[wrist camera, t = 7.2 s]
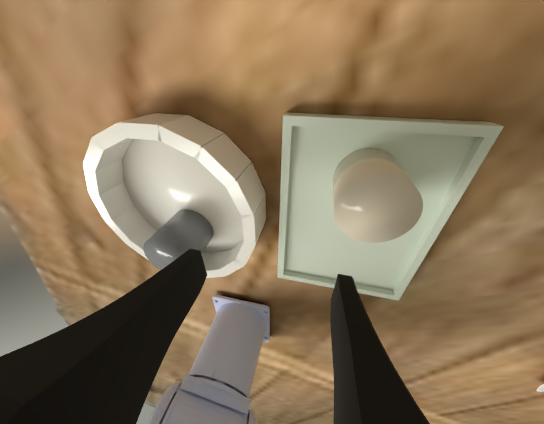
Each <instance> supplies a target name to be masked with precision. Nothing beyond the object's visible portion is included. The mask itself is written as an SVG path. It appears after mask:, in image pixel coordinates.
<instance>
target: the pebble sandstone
mask: <svg viewBox="0 0 544 424" xmlns="http://www.w3.org/2000/svg"><path fill="white" fill-rule="evenodd" d="M333 200H334V218H335V221H336V224H337V226H338V227H339V229H340V230H341V231H342V232H343V233H344V234H346V235H347V236H349V237H351V238H353V239H355V240H358V241H362V242H368V243H379V242H386V241H390V240H393V239H396V238H398V237H400V236H402V235H404V234H405V233H407V232H408V231H409V230H411V229H412V228H413V227H414V226H415V224H416V223H417V222H418V220H419V219H420V216H421V214H422V210H423V200H422V197H421V194H420V193H419V191H418V189H417V188H416V187H415V185H414V184H413V183H412V181H411V180H410V178H409V177H408V176H407V174H406V173H405V172H404V170H403V169H402V168H401V166H400V165H399V163H398V162H397V161H396V159H395V158H394V157H393V156H392V155H391V154H389V153H388V152H386V151H384V150H381V149H377V148H364V149H360V150H357V151H354V152H352V153H350V154H349V155H347V156H346V157H344V158H343V159H342V160H341V161H340V162H339V164H338V165H337V167H336V169H335V171H334V174H333Z"/></svg>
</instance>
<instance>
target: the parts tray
mask: <svg viewBox="0 0 544 424" xmlns="http://www.w3.org/2000/svg"><path fill="white" fill-rule="evenodd" d="M503 127H504V126H501V125H498V124H495V123H492V122H483V121H461V120H440V119H419V118H397V117H376V116H354V115H333V114H311V113H290V112H286V113H285V114H284V115H283V131H282V160H281V189H280V218H279V248H278V278H283V279H288V280H294V281H299V282H304V283H309V284H315V285H320V286H325V287H330V288H334V287H335V283H336V279H337V275H338V274H342V275H348V276H352V277H353V279H354V282H355V285H356V288H357V291H358V293H362V294H367V295H372V296H377V297H383V298H388V299H393V300H398V301H399V299H400V297H401V296H402V294H403V293H404V291H405V289H406V288H407V286H408V284H409V283H410V281H411V279H412V278H413V276H414V274H415V273H416V271H417V269H418V268H419V266H420V264H421V263H422V261H423V259H424V258H425V256H426V255H427V253H428V251H429V250H430V248H431V246H432V245H433V243H434V241H435V240H436V238H437V236H438V235H439V233H440V231H441V230H442V228H443V226H444V225H445V223H446V222H447V220H448V218H449V217H450V215H451V213H452V212H453V210H454V208H455V207H456V205H457V203H458V202H459V200H460V198H461V197H462V195H463V193H464V192H465V190H466V188H467V187H468V185H469V184H470V182H471V180H472V179H473V177H474V175H475V174H476V172H477V170H478V169H479V167H480V165H481V164H482V162H483V160H484V159H485V157H486V155H487V154H488V152H489V151H490V149H491V147H492V146H493V144H494V142H495V141H496V139H497V137H498V136H499V134H500V132H501V131H502V129H503ZM364 148H377V149H381V150H384V151H386V152H388V153H389V154H391V155H392V156H393V157H394V158H395V159H396V161H397V162H398V163H399V165H400V166H401V168H402V169H403V170H404V172H405V173H406V174H407V176H408V177H409V178H410V180H411V181H412V183H413V184H414V185H415V187H416V188H417V189H418V191H419V193H420V194H421V197H422V200H423V210H422V214H421V216H420V219H419V220H418V222H417V223H416V224H415V226H414V227H413V228H412V229H411V230H409V231H408V232H407V233H405V234H404V235H402V236H400V237H398V238H396V239H393V240H390V241H386V242H379V243H368V242H362V241H358V240H355V239H353V238H351V237H349V236H347V235H346V234H344V233H343V232H342V231H341V230H340V229H339V227H338V226H337V224H336V221H335V218H334V200H333V174H334V171H335V169H336V167H337V165H338V164H339V162H340V161H341V160H342V159H343V158H344V157H346V156H347V155H349V154H350V153H352V152H354V151H357V150H360V149H364Z"/></svg>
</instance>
